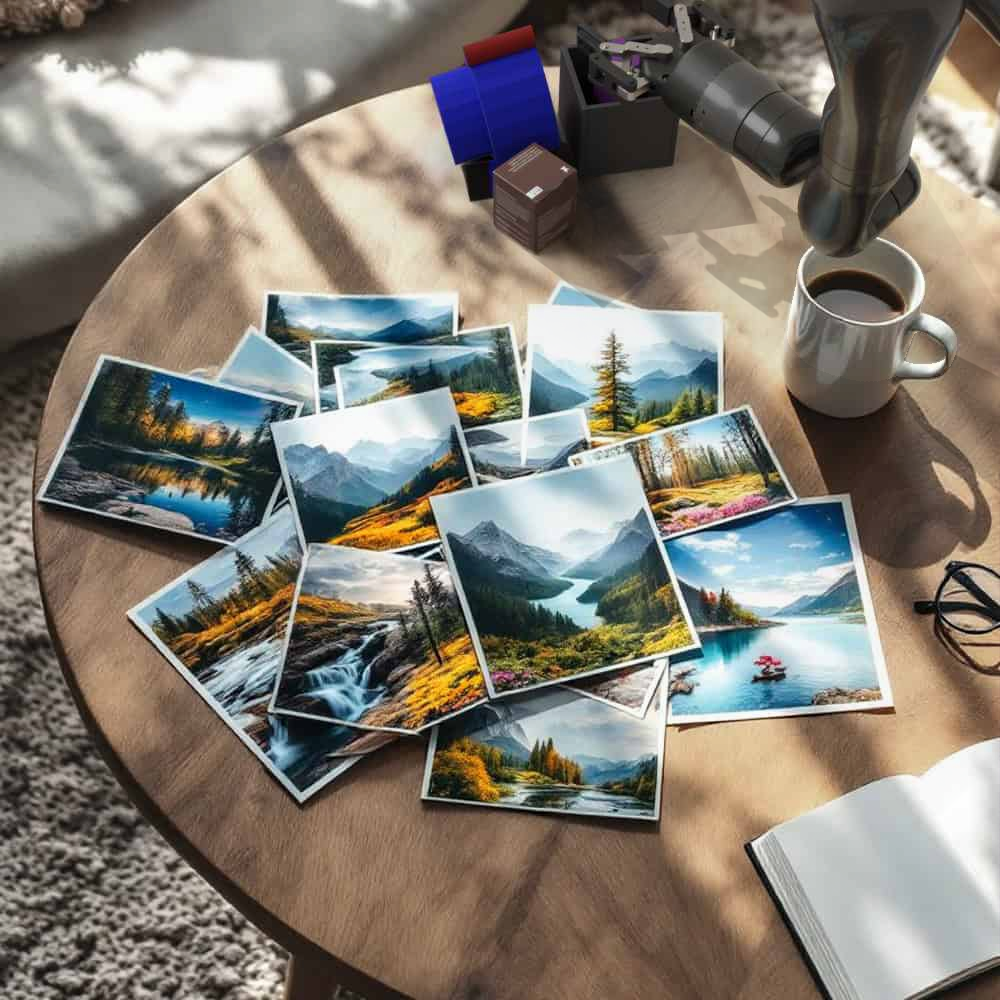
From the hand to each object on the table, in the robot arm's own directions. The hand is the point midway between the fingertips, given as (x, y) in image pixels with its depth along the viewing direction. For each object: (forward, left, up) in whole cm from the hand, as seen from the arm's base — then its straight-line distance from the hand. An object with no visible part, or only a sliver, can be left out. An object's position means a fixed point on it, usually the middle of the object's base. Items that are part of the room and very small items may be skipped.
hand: (612, 15), depth 122 cm
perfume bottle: (-1, +2, -13) cm, 13 cm away
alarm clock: (+12, +2, -14) cm, 19 cm away
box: (+10, +13, -14) cm, 22 cm away
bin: (-1, +2, -14) cm, 14 cm away
